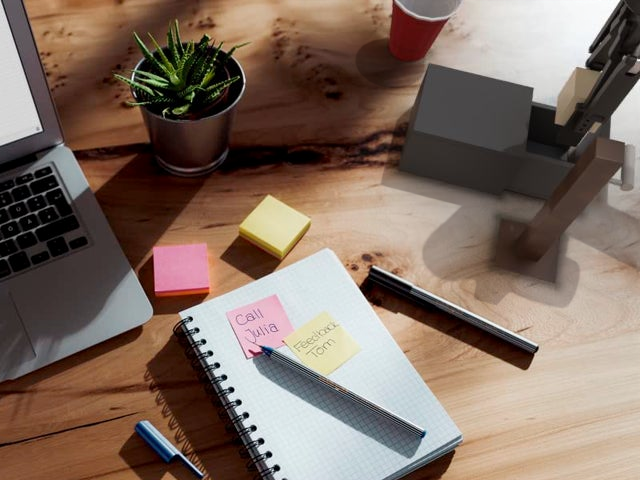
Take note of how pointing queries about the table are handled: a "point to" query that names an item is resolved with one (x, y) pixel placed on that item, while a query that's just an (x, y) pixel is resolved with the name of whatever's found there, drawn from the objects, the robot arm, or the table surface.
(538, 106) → the drawer
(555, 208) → the stand
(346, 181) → the table surface
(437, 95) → the cabinet
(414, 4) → the plastic cup
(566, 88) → the block
